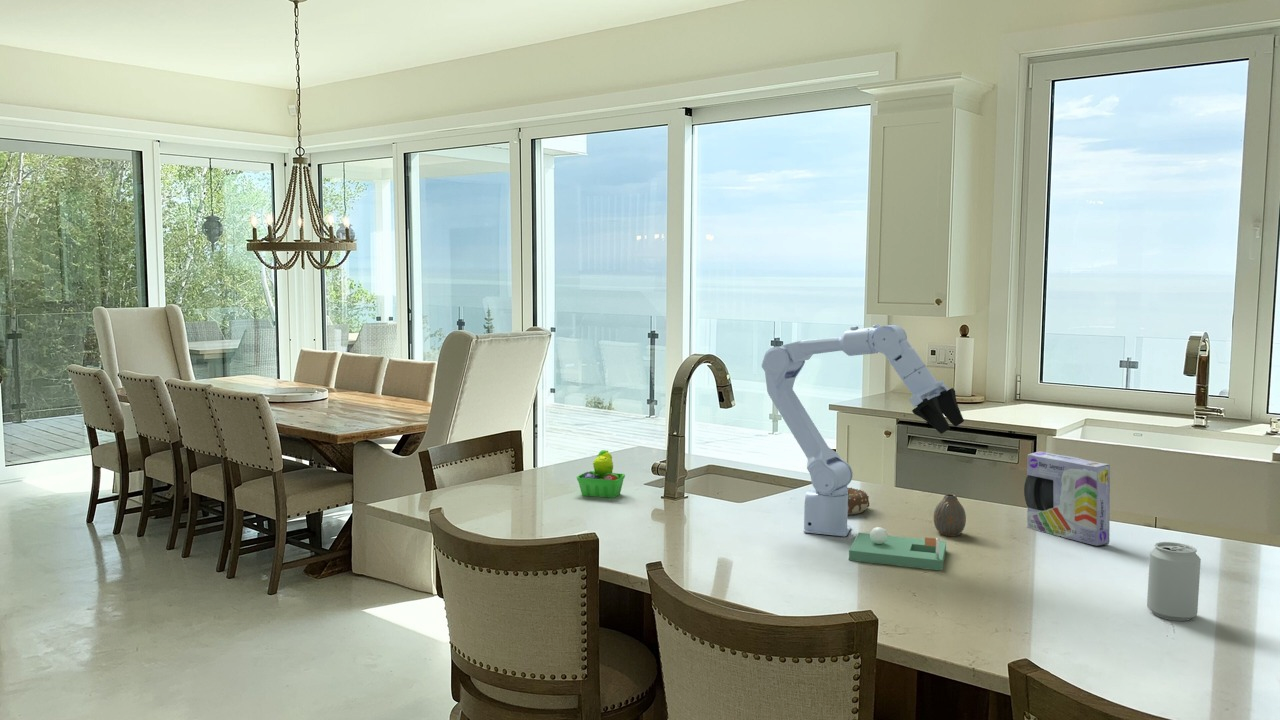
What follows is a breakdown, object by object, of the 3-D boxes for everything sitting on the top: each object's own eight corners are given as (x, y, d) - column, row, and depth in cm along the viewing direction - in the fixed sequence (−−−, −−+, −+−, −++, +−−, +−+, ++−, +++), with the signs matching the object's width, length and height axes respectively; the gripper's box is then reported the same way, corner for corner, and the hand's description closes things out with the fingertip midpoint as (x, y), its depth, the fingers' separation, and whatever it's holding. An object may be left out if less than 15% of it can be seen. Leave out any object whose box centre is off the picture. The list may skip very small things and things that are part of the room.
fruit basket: (575, 496, 241) (575, 453, 239) (587, 489, 249) (587, 447, 248) (617, 499, 237) (617, 456, 236) (627, 492, 246) (627, 450, 245)
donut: (871, 518, 220) (872, 497, 220) (813, 515, 223) (813, 495, 222) (866, 503, 234) (867, 484, 234) (811, 501, 237) (812, 482, 236)
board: (848, 559, 188) (849, 550, 187) (858, 541, 201) (858, 532, 200) (941, 570, 181) (942, 560, 181) (945, 550, 194) (946, 541, 194)
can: (1137, 607, 162) (1140, 540, 161) (1177, 606, 162) (1181, 539, 161) (1164, 623, 154) (1169, 553, 153) (1207, 622, 155) (1211, 552, 154)
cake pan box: (1020, 526, 213) (1024, 450, 212) (1035, 523, 216) (1039, 449, 214) (1095, 548, 196) (1099, 466, 195) (1110, 545, 199) (1115, 464, 197)
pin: (924, 567, 183) (925, 537, 182) (924, 566, 184) (925, 536, 183) (938, 569, 182) (939, 539, 181) (938, 568, 183) (939, 538, 182)
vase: (967, 538, 203) (969, 499, 202) (934, 536, 205) (936, 498, 204) (963, 530, 210) (964, 492, 209) (931, 528, 211) (932, 490, 210)
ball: (868, 545, 191) (869, 528, 191) (871, 540, 194) (871, 524, 194) (886, 546, 190) (886, 530, 190) (888, 542, 193) (888, 525, 193)
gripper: (914, 368, 187) (954, 424, 184) (942, 358, 198) (981, 411, 194) (888, 387, 191) (927, 442, 188) (917, 376, 202) (954, 428, 199)
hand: (952, 427), depth 191 cm, fingers open, 7 cm apart
